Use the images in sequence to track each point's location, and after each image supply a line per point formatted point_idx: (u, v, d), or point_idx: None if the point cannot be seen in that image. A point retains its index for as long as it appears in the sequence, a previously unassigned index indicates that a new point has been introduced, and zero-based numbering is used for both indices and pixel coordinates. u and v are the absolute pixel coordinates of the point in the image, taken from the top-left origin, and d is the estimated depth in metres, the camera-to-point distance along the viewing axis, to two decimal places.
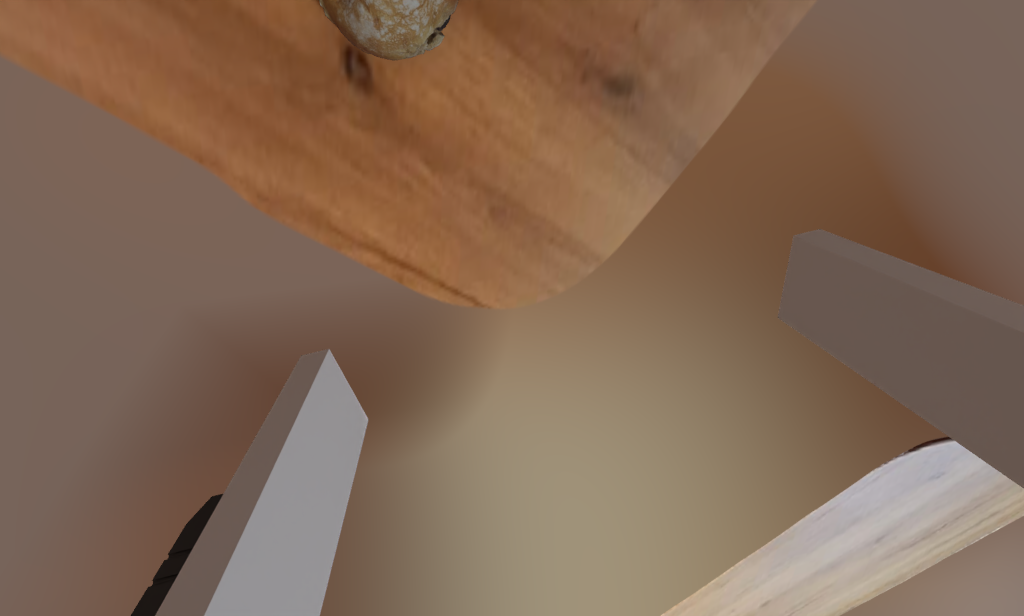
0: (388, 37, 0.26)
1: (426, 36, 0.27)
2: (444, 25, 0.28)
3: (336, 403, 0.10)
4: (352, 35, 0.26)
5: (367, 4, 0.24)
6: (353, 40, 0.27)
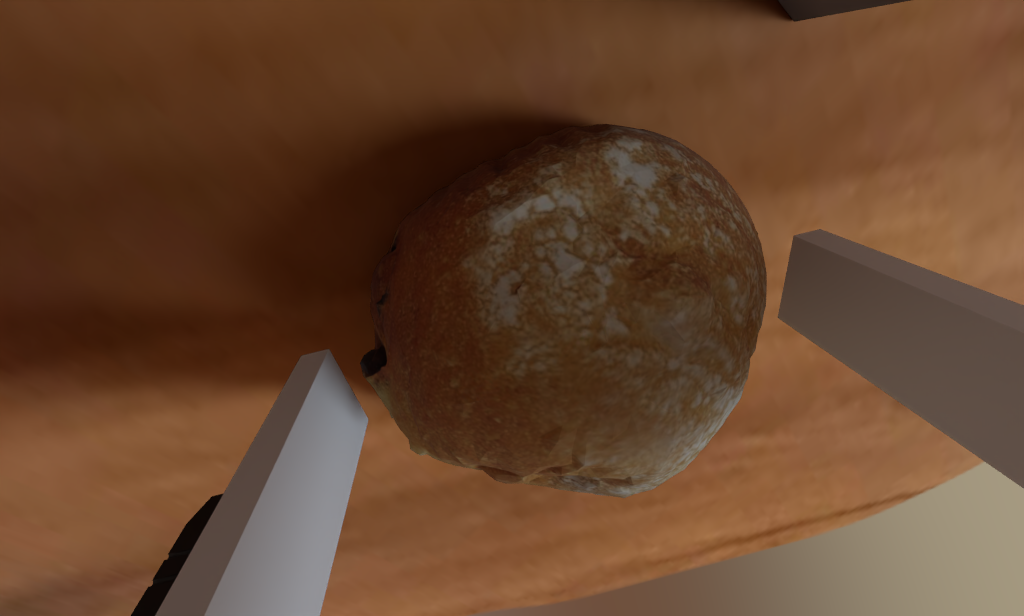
0: None
1: None
2: None
3: (336, 403, 0.10)
4: None
5: (637, 487, 0.09)
6: None
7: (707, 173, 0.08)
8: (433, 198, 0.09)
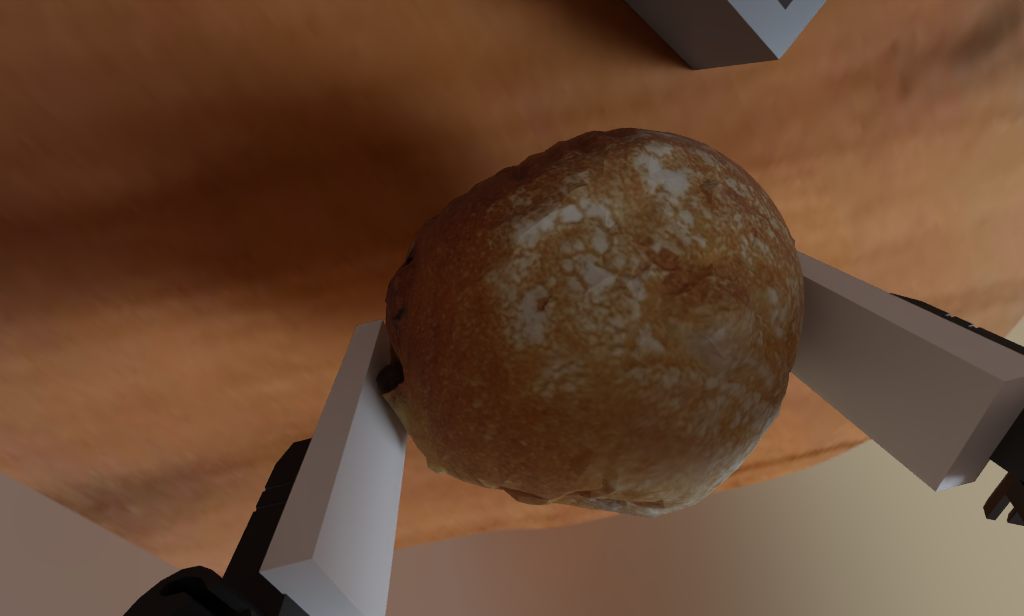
0: None
1: None
2: None
3: None
4: None
5: (667, 509, 0.08)
6: None
7: (741, 178, 0.07)
8: (450, 208, 0.08)
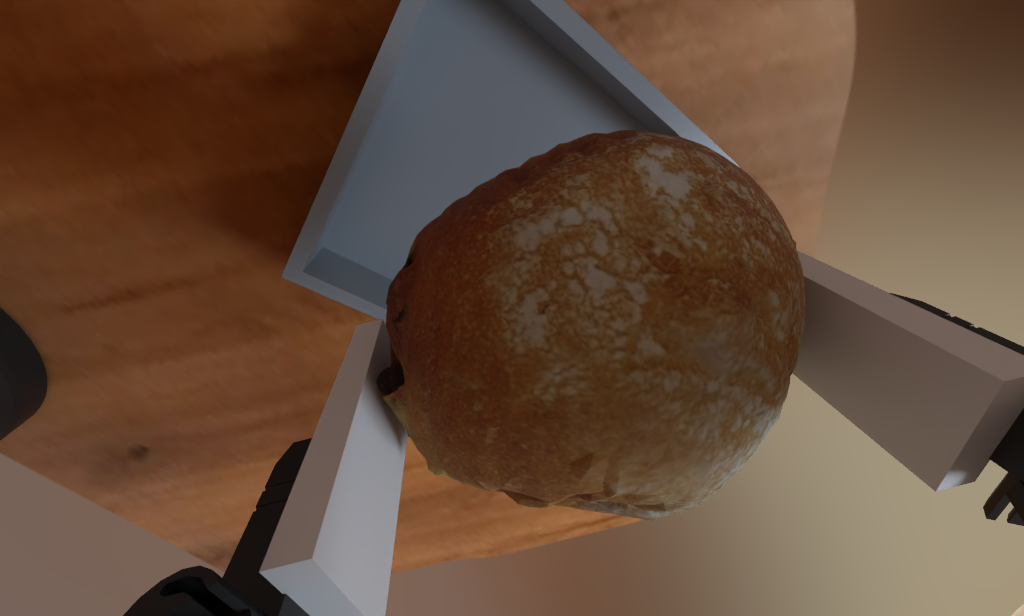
0: None
1: None
2: None
3: None
4: None
5: None
6: None
7: (742, 180, 0.07)
8: (451, 210, 0.08)
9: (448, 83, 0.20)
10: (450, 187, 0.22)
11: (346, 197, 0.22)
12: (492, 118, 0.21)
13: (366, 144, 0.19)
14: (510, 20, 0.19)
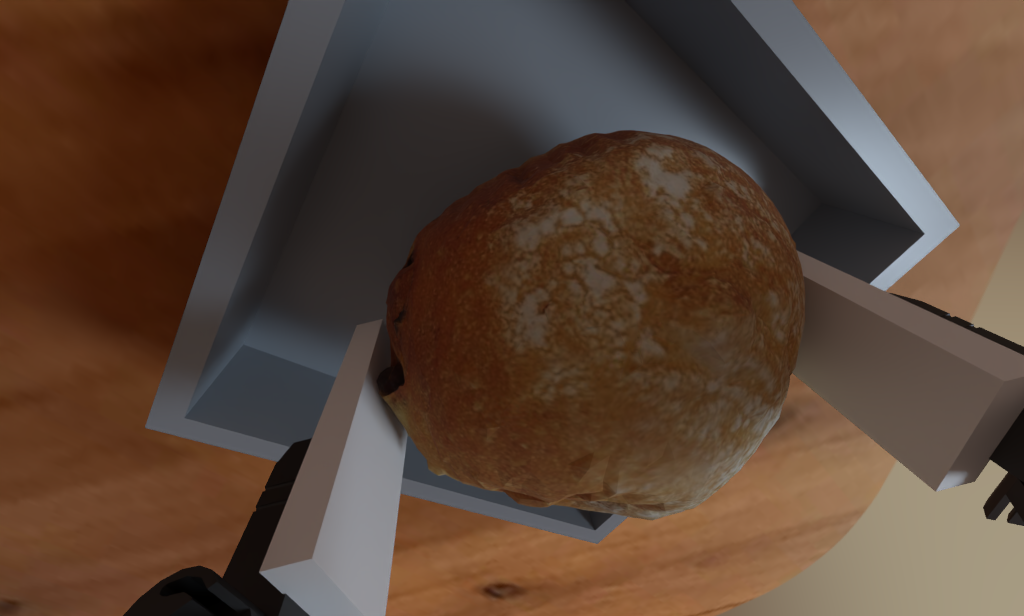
0: None
1: None
2: None
3: None
4: None
5: None
6: None
7: (742, 180, 0.07)
8: (451, 210, 0.08)
9: (448, 78, 0.11)
10: None
11: (275, 270, 0.13)
12: (523, 139, 0.12)
13: (295, 190, 0.10)
14: None
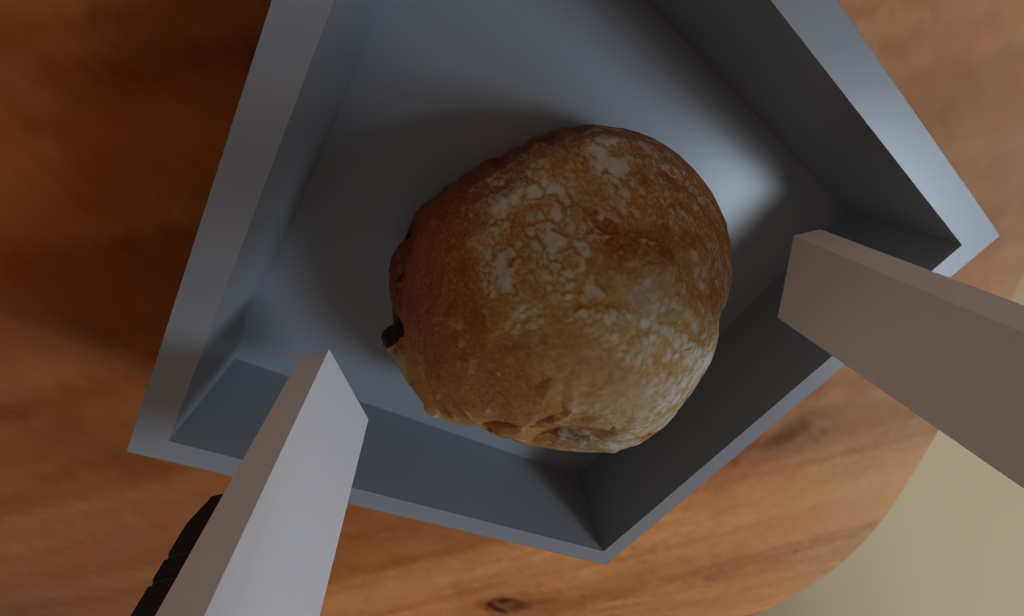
0: None
1: None
2: None
3: (336, 403, 0.10)
4: None
5: (622, 440, 0.10)
6: None
7: (675, 164, 0.09)
8: (442, 191, 0.10)
9: (451, 78, 0.10)
10: None
11: (268, 281, 0.12)
12: None
13: (287, 198, 0.10)
14: None
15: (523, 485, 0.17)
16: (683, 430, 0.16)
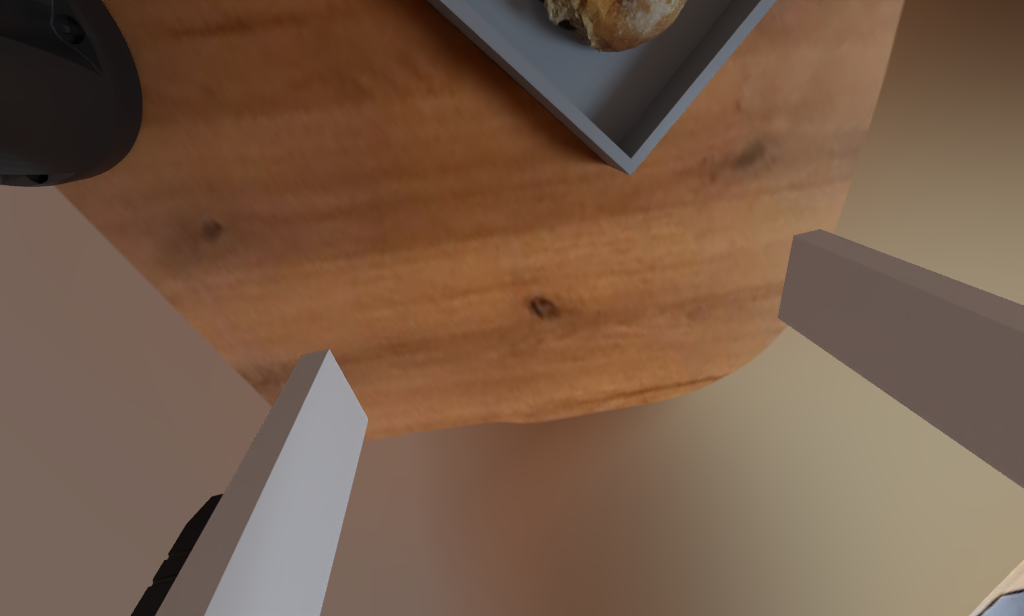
0: (677, 1, 0.22)
1: None
2: None
3: (336, 403, 0.10)
4: (634, 37, 0.23)
5: None
6: (631, 42, 0.24)
7: None
8: None
9: None
10: None
11: None
12: None
13: None
14: None
15: None
16: (683, 79, 0.26)
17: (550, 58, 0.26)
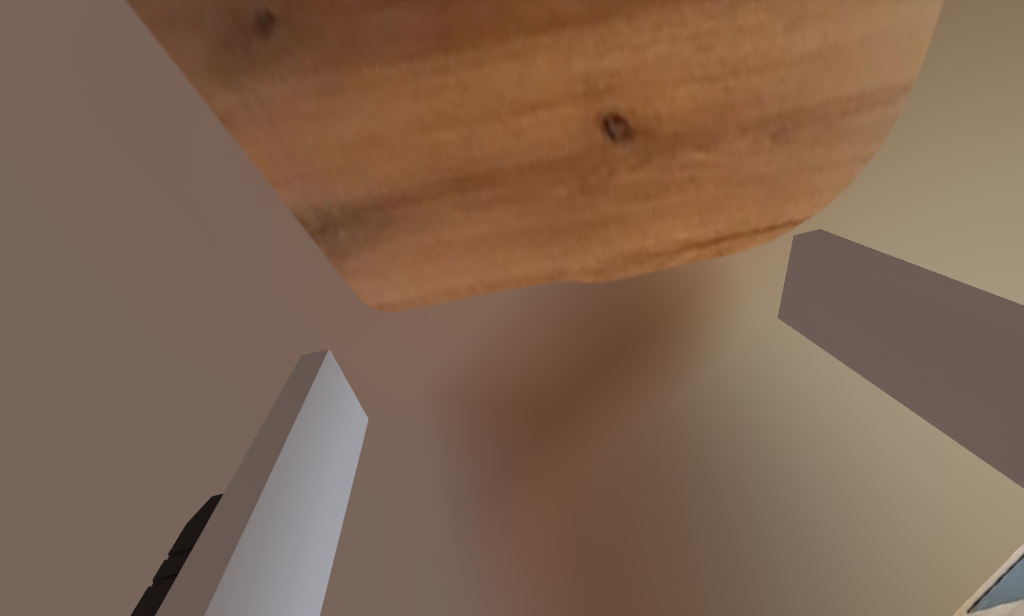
0: None
1: None
2: None
3: (336, 403, 0.10)
4: None
5: None
6: None
7: None
8: None
9: None
10: None
11: None
12: None
13: None
14: None
15: None
16: None
17: None
